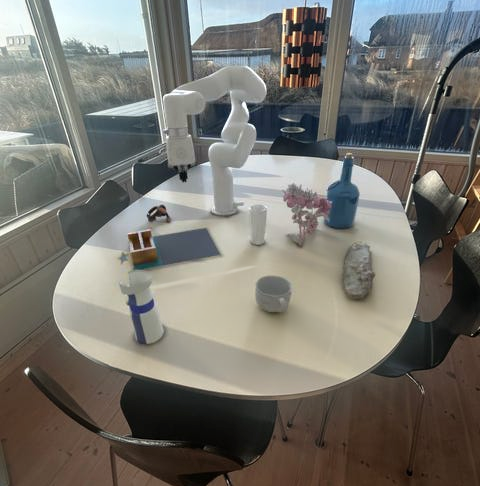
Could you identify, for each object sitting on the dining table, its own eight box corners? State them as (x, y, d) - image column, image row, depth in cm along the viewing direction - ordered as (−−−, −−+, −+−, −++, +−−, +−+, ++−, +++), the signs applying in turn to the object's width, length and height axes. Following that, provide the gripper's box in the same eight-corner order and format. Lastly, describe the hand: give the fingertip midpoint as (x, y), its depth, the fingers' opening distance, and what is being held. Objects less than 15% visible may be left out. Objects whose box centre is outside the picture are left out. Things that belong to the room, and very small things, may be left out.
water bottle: (126, 341, 88) (102, 264, 74) (145, 320, 94) (125, 246, 80) (152, 348, 85) (132, 271, 71) (169, 327, 92) (154, 252, 78)
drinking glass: (267, 239, 133) (268, 205, 125) (263, 247, 128) (264, 212, 119) (252, 237, 135) (252, 203, 126) (247, 245, 130) (246, 210, 121)
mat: (206, 229, 142) (206, 227, 142) (220, 255, 123) (220, 254, 123) (131, 241, 134) (130, 240, 134) (134, 272, 115) (134, 270, 115)
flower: (346, 244, 125) (345, 178, 121) (293, 249, 119) (291, 179, 115) (319, 242, 144) (317, 185, 141) (272, 246, 138) (269, 186, 134)
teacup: (253, 295, 103) (253, 275, 98) (286, 293, 103) (288, 272, 99) (259, 326, 91) (259, 304, 87) (296, 323, 92) (299, 301, 88)
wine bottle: (355, 219, 147) (369, 151, 130) (351, 231, 137) (365, 159, 120) (325, 214, 152) (335, 148, 135) (319, 226, 142) (328, 156, 125)
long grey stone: (372, 252, 125) (345, 249, 128) (374, 239, 123) (347, 237, 126) (373, 304, 97) (339, 299, 100) (376, 289, 95) (340, 284, 98)
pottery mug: (170, 226, 146) (158, 213, 140) (154, 233, 150) (141, 221, 144) (175, 209, 154) (164, 197, 148) (159, 216, 157) (148, 204, 152)
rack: (152, 241, 133) (150, 229, 130) (158, 260, 120) (155, 247, 117) (130, 245, 130) (127, 233, 127) (133, 265, 118) (130, 252, 115)
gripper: (158, 136, 113) (166, 186, 124) (200, 132, 117) (204, 181, 128) (156, 131, 119) (163, 180, 130) (195, 128, 123) (200, 176, 133)
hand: (183, 181), depth 129 cm, fingers closed
